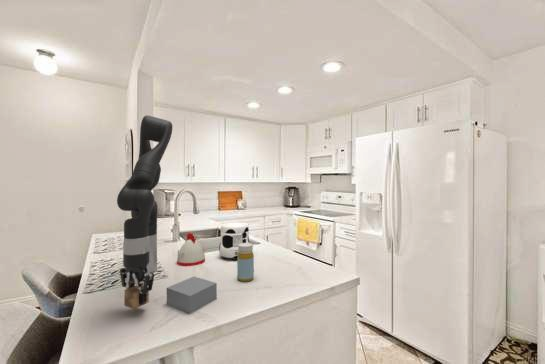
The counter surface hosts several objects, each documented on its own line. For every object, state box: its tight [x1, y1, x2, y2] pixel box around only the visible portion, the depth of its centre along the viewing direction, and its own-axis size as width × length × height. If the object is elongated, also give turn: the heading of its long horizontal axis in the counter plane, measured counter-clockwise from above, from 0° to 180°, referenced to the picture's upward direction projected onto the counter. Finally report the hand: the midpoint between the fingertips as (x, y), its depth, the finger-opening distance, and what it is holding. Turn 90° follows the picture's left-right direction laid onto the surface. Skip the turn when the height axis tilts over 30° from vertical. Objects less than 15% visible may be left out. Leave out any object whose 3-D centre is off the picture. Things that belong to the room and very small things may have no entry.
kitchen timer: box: [176, 232, 206, 267], centre depth 132 cm, size 14×14×15 cm
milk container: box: [218, 221, 250, 260], centre depth 141 cm, size 17×17×18 cm
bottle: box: [236, 242, 255, 283], centre depth 109 cm, size 7×7×15 cm
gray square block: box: [166, 276, 218, 315], centre depth 90 cm, size 12×12×6 cm
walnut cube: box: [123, 285, 150, 310], centre depth 82 cm, size 5×5×5 cm
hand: (136, 301), depth 82 cm, fingers closed on walnut cube, 5 cm apart
